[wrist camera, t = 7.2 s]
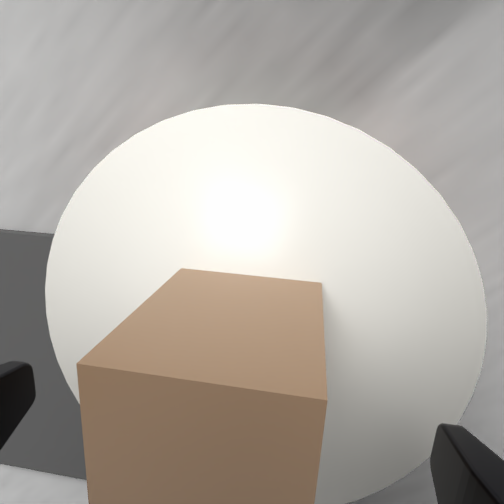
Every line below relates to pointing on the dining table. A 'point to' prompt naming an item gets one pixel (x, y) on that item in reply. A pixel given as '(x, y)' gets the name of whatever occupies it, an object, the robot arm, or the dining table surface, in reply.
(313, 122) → the lid
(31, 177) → the dining table surface
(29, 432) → the mat
